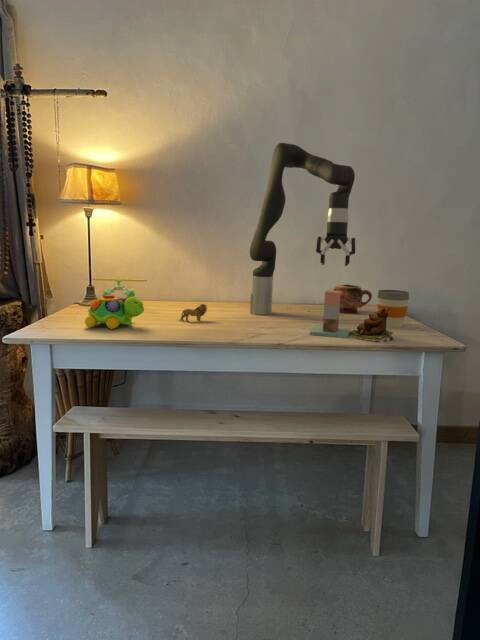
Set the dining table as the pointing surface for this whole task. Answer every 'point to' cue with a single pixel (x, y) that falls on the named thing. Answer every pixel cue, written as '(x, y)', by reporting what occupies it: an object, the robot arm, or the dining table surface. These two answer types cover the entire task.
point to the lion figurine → (194, 312)
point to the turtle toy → (113, 311)
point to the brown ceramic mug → (351, 298)
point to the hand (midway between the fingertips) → (334, 265)
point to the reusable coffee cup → (393, 306)
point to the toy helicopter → (119, 287)
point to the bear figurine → (374, 327)
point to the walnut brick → (330, 325)
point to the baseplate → (340, 332)
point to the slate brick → (331, 312)
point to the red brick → (332, 298)
